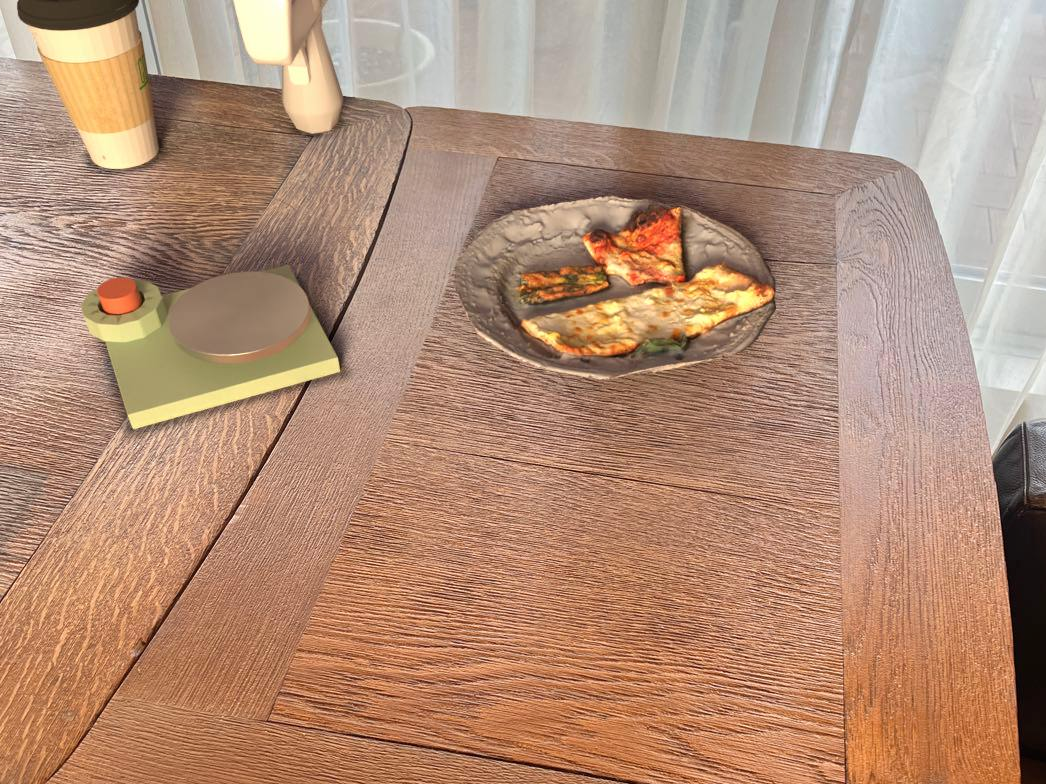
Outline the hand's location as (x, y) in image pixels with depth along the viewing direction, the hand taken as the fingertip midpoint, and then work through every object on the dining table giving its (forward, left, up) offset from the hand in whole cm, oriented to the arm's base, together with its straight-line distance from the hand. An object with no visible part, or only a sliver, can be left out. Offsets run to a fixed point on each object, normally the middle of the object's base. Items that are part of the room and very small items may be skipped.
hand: (307, 71), depth 97 cm
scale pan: (-15, -32, -2) cm, 36 cm away
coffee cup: (-18, +2, -5) cm, 19 cm away
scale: (-17, -31, -5) cm, 36 cm away
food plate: (+13, -38, -5) cm, 40 cm away
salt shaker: (0, 0, -5) cm, 5 cm away
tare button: (-22, -26, -3) cm, 35 cm away
